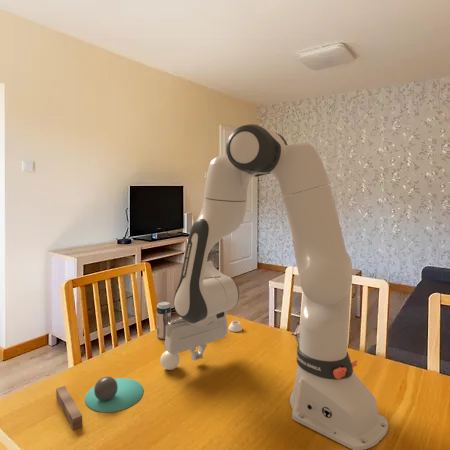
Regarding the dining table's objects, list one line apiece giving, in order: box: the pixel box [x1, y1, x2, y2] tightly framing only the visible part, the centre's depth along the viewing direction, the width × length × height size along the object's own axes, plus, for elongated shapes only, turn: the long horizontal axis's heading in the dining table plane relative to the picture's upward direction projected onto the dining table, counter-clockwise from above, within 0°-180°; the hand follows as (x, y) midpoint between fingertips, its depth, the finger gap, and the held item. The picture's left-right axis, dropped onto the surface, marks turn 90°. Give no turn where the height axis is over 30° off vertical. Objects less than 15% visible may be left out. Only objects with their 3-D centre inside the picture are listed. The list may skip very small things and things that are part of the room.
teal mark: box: [84, 377, 144, 413], centre depth 88 cm, size 14×14×1 cm
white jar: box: [228, 320, 243, 333], centre depth 129 cm, size 5×3×5 cm
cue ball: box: [160, 350, 181, 371], centre depth 101 cm, size 6×6×6 cm
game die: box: [291, 321, 300, 346], centre depth 116 cm, size 9×8×10 cm
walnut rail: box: [55, 385, 83, 431], centre depth 81 cm, size 14×2×2 cm, turn 39°
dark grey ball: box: [93, 376, 118, 401], centre depth 86 cm, size 6×6×6 cm
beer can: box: [156, 301, 172, 340], centre depth 121 cm, size 5×5×12 cm
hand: (197, 358), depth 104 cm, fingers closed
